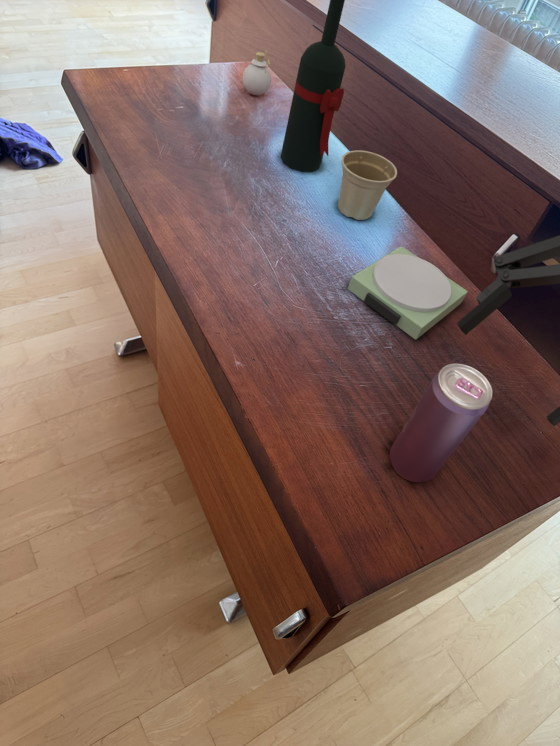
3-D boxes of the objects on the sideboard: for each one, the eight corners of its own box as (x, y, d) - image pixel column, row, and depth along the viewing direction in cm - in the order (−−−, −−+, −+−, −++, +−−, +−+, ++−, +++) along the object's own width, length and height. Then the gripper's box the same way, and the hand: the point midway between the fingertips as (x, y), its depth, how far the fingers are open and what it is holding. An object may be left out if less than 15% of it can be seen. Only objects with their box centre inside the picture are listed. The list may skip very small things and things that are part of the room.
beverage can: (424, 494, 65) (483, 419, 54) (379, 465, 66) (427, 386, 55) (443, 459, 69) (502, 382, 57) (400, 432, 70) (449, 352, 59)
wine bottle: (301, 182, 102) (345, -7, 80) (272, 152, 107) (307, -35, 85) (336, 175, 106) (388, -7, 83) (306, 147, 111) (348, -33, 88)
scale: (461, 303, 88) (470, 287, 86) (413, 342, 81) (421, 325, 78) (396, 257, 93) (402, 241, 90) (344, 290, 85) (350, 273, 83)
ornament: (261, 86, 124) (268, 37, 117) (276, 103, 120) (285, 53, 113) (236, 87, 122) (242, 37, 114) (251, 104, 118) (258, 53, 110)
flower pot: (346, 188, 104) (359, 143, 97) (390, 212, 101) (406, 168, 95) (318, 207, 98) (331, 162, 92) (364, 233, 96) (380, 188, 89)
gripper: (786, 329, 53) (593, 470, 58) (582, 180, 65) (436, 307, 69) (812, 301, 47) (593, 462, 51) (581, 142, 58) (420, 284, 63)
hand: (502, 373), depth 60 cm, fingers open, 13 cm apart
